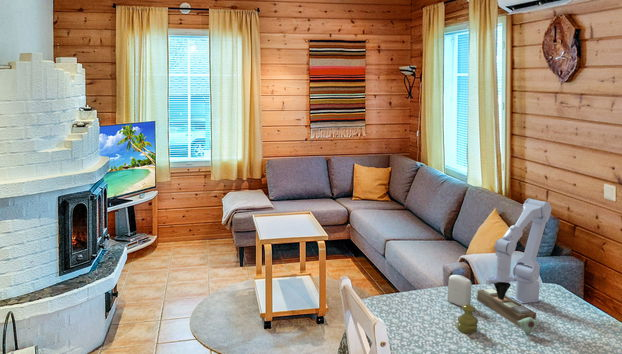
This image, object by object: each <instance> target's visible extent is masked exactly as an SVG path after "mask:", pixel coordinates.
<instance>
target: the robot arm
mask: <svg viewBox="0 0 622 354" xmlns="http://www.w3.org/2000/svg"><path fill="white" fill-rule="evenodd" d="M552 210H553V209H552V206H551V203H550V202H549V201H542V200H538V199H534V198H533V199H532V198H530V197H529V198H527V199H526V200H525V201H524V203H523V204H522V211H521V214H520V216H519V217H518V219H517V221H516V223H515V224H514V225H511V226H510V227H509V228H508V229H507V230H506V232H505V233H504V235H502V238H498V239H497V240H496V241H495V243H494V244H495V245H494V251H495V256H496V263H495V273H494V274H495V275H494V276H492V277H488V278H485V284H487V286H488V285H492V284H493V286H494V287H495V288H494V289H495V290H496V291H497V295H498V298H499V299H500V300H503V299H504V297H505V295H506V294H507V292H508V290H509V289H510V288H511V282H515V292H514V294H513V295H510V297H509V298H511V299H512V300H514V301H516V302H518V303H519V304H530V303H536V302H540V301H541V300H540V299H539V298H540V287H541V286H540V283H539V281H538V280H539V277H540V269H541V265H540V264H539V262H538V261H537V260H536V259H537V255H538V252H539V249H540V245H541V242H542V239H543V234H544V230H545V227H546V223H548V222H549V220H550V217H551V213H552ZM531 221H532V223H531V227H530V230H529V233H528V238H527V241H526V244H525V247H524V248H525V249H524V252H523V255H522V256H521V257H519V258H517V259H516V262H515V264H514V265H513V266H512V267H511V265H512V255H513V254H514V253H515V251H516V248H517V245H518V244H517V243H518V241H519V240H520V238H522V236H523V234H524V232H523V231H524V229H525V227H526V226H527V225H528V224H529V223H530V222H531ZM511 268H512V275H511Z"/></svg>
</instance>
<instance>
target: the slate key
mask: <svg viewBox="0 0 622 354" xmlns="http://www.w3.org/2000/svg"><path fill="white" fill-rule="evenodd" d="M523 306H524V305H523ZM523 306H518V307H513V310H515V311H516V312H518V313H520V314H522V313H529V312H530V310H531V309H530V310H528V309H529V308H528V307H526V306H525V307H526V308H525V307H523ZM527 308H528V309H527Z"/></svg>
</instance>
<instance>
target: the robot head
mask: <svg viewBox="0 0 622 354" xmlns="http://www.w3.org/2000/svg"><path fill="white" fill-rule="evenodd" d="M517 322H518V323H519V325H520V326H519V327H520V328H522V331H523V332H524V334H527V335H529V334H532V332H533V331H534V330H535V328H536V327H537V326H538V325H539V320H537V319H536V320H534V319H532V318H530V317H528V318H525V319H522V320H519V321H517Z"/></svg>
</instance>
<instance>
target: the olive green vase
mask: <svg viewBox="0 0 622 354" xmlns="http://www.w3.org/2000/svg"><path fill="white" fill-rule="evenodd" d="M461 309H462V310H463V311H464V313H462V314H461V315H459V316H458V317H457V327H456V328H457V330H458V331H459V332H460V333H461V332H462V333H464V334H475V333H477V332H478V326H479V325H478V322H479V320H478V318H477V317H476V316H475V315H474V314H473V312H475V311H476V307H475V306H473V305H472V304H471V303H470V304H467V305H464V306H461Z"/></svg>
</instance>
